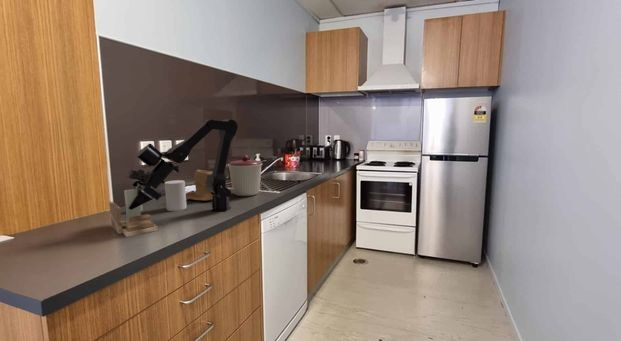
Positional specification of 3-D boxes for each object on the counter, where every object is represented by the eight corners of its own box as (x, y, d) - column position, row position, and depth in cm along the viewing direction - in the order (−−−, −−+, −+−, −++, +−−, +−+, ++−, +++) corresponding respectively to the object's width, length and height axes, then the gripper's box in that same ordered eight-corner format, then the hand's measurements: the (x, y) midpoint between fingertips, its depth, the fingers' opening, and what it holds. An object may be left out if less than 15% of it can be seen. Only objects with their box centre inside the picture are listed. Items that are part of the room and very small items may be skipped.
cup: (189, 206, 144) (188, 180, 143) (180, 210, 136) (179, 183, 135) (172, 206, 145) (171, 180, 144) (163, 210, 137) (160, 183, 135)
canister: (237, 190, 180) (236, 153, 177) (268, 191, 176) (267, 153, 173) (222, 197, 162) (220, 156, 159) (256, 198, 159) (254, 156, 156)
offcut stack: (150, 224, 113) (150, 213, 113) (154, 226, 110) (153, 215, 110) (125, 229, 108) (124, 217, 108) (128, 232, 105) (127, 220, 105)
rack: (144, 220, 123) (143, 197, 122) (158, 230, 110) (156, 205, 109) (111, 226, 116) (109, 202, 114) (122, 237, 103) (119, 210, 102)
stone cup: (222, 198, 160) (220, 169, 158) (205, 203, 149) (203, 172, 147) (199, 196, 166) (198, 167, 164) (181, 200, 156) (179, 170, 154)
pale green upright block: (139, 223, 118) (136, 188, 116) (141, 224, 116) (138, 189, 114) (127, 225, 115) (124, 190, 113) (129, 227, 113) (126, 191, 111)
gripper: (134, 158, 122) (103, 191, 116) (148, 162, 108) (114, 199, 102) (157, 176, 128) (129, 208, 122) (173, 182, 114) (142, 218, 108)
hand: (128, 208), depth 113 cm, fingers closed on pale green upright block, 3 cm apart
